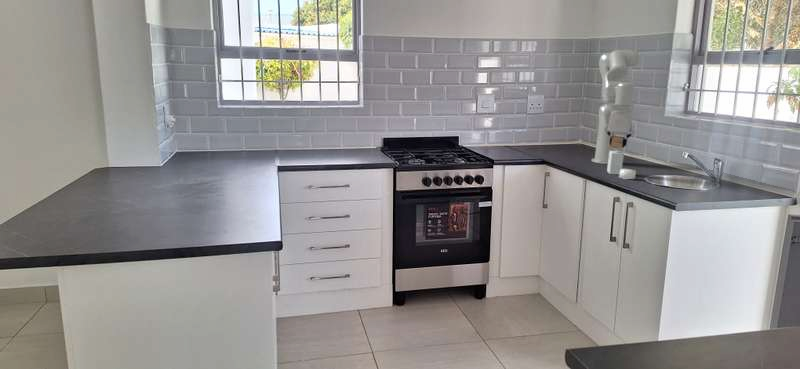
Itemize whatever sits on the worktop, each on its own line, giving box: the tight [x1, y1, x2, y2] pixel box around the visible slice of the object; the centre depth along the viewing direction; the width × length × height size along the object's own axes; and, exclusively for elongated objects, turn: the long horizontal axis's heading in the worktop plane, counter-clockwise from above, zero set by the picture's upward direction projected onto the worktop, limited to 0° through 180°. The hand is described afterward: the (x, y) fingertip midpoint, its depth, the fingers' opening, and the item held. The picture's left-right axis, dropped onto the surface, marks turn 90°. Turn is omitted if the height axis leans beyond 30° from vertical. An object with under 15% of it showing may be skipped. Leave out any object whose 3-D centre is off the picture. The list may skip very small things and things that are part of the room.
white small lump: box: [618, 168, 637, 180], centre depth 266 cm, size 7×7×4 cm
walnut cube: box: [611, 135, 624, 149], centre depth 274 cm, size 5×5×5 cm
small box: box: [606, 150, 625, 176], centre depth 277 cm, size 8×6×10 cm
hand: (617, 145), depth 275 cm, fingers closed on walnut cube, 5 cm apart
